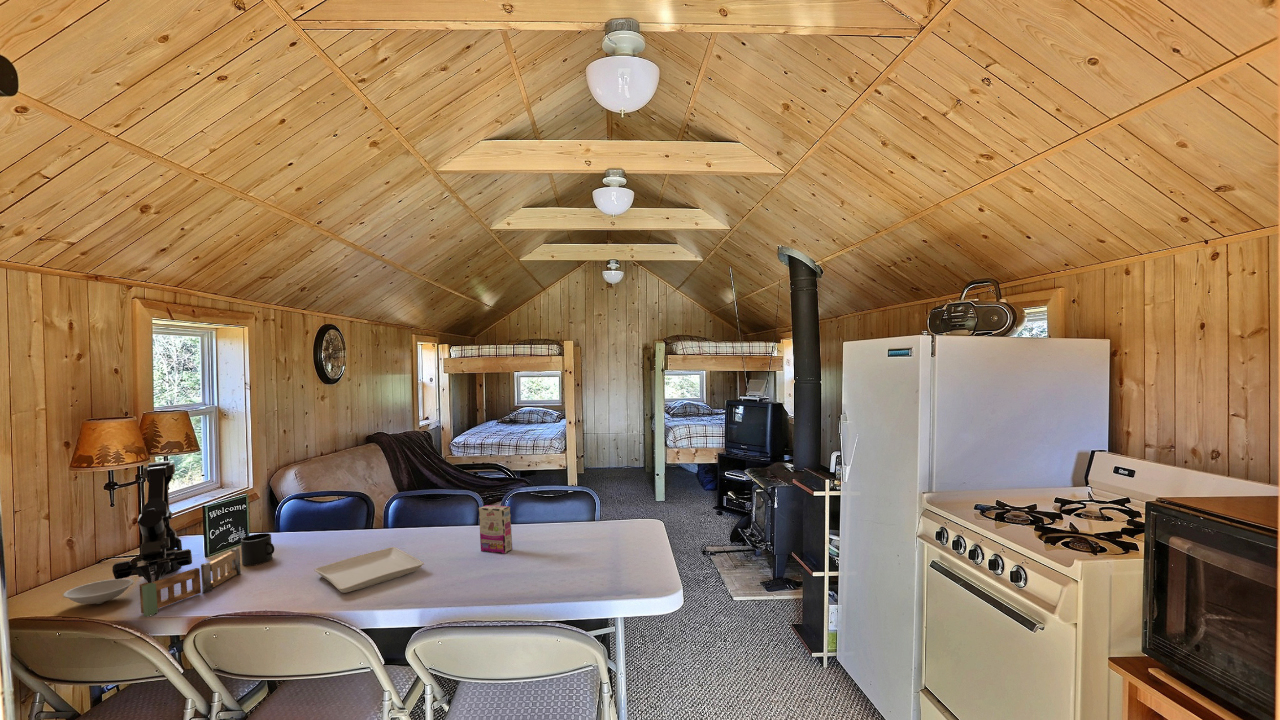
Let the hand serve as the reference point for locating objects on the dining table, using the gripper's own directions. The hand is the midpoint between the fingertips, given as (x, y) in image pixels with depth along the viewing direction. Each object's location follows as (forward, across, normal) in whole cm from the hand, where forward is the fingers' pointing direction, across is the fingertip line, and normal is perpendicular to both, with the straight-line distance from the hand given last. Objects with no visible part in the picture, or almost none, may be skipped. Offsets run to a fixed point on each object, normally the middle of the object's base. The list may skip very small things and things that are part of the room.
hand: (153, 588), depth 177 cm
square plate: (+16, +58, -6) cm, 60 cm away
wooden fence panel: (-4, +17, +13) cm, 21 cm away
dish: (-8, -15, +18) cm, 24 cm away
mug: (-14, +28, +25) cm, 40 cm away
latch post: (+7, -1, +1) cm, 8 cm away
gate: (+4, +4, +5) cm, 7 cm away
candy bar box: (+21, +100, -12) cm, 103 cm away
